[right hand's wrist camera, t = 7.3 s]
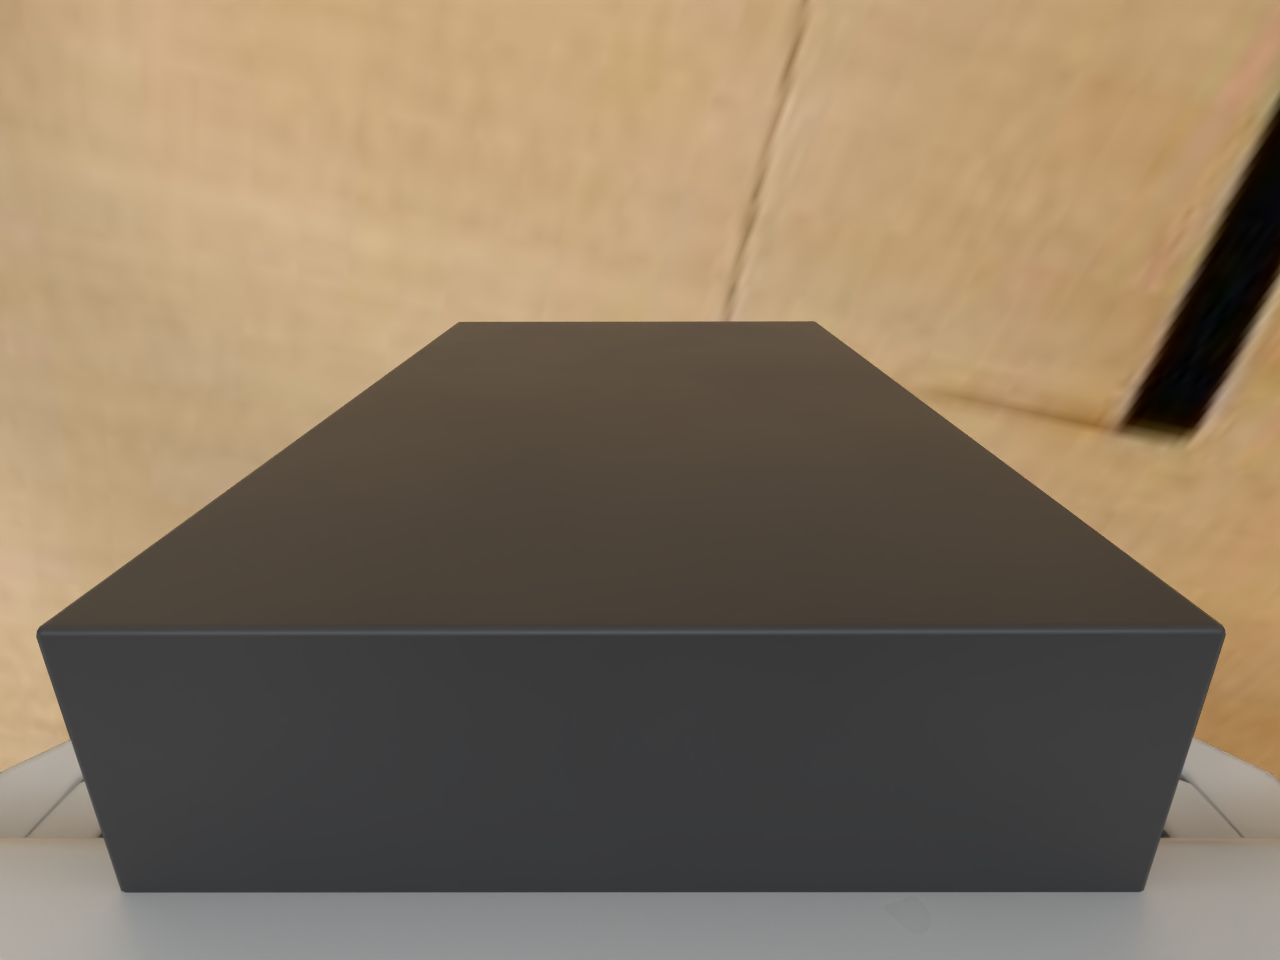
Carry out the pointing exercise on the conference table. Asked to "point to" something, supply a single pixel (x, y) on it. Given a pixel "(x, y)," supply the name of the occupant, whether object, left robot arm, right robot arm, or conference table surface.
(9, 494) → the conference table surface
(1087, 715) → the box
